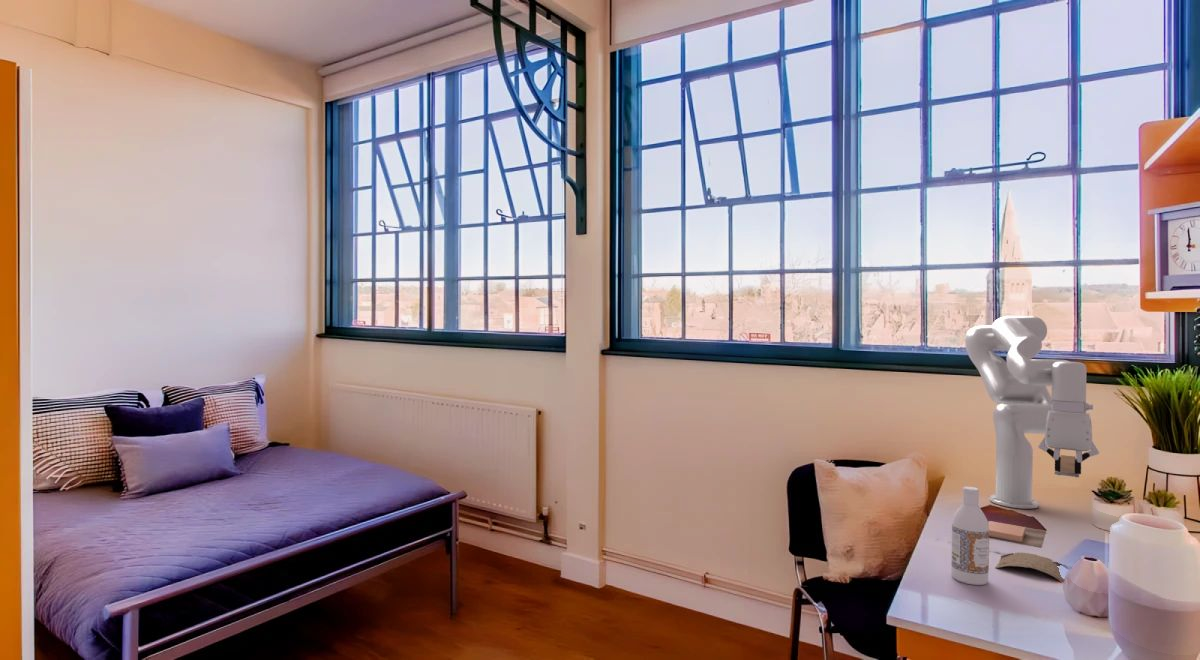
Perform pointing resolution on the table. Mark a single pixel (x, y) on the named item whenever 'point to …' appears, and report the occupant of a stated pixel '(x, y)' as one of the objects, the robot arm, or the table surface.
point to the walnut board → (1029, 537)
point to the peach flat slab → (1006, 531)
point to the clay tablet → (1031, 563)
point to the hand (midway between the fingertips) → (1067, 474)
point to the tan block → (1067, 466)
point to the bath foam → (970, 541)
